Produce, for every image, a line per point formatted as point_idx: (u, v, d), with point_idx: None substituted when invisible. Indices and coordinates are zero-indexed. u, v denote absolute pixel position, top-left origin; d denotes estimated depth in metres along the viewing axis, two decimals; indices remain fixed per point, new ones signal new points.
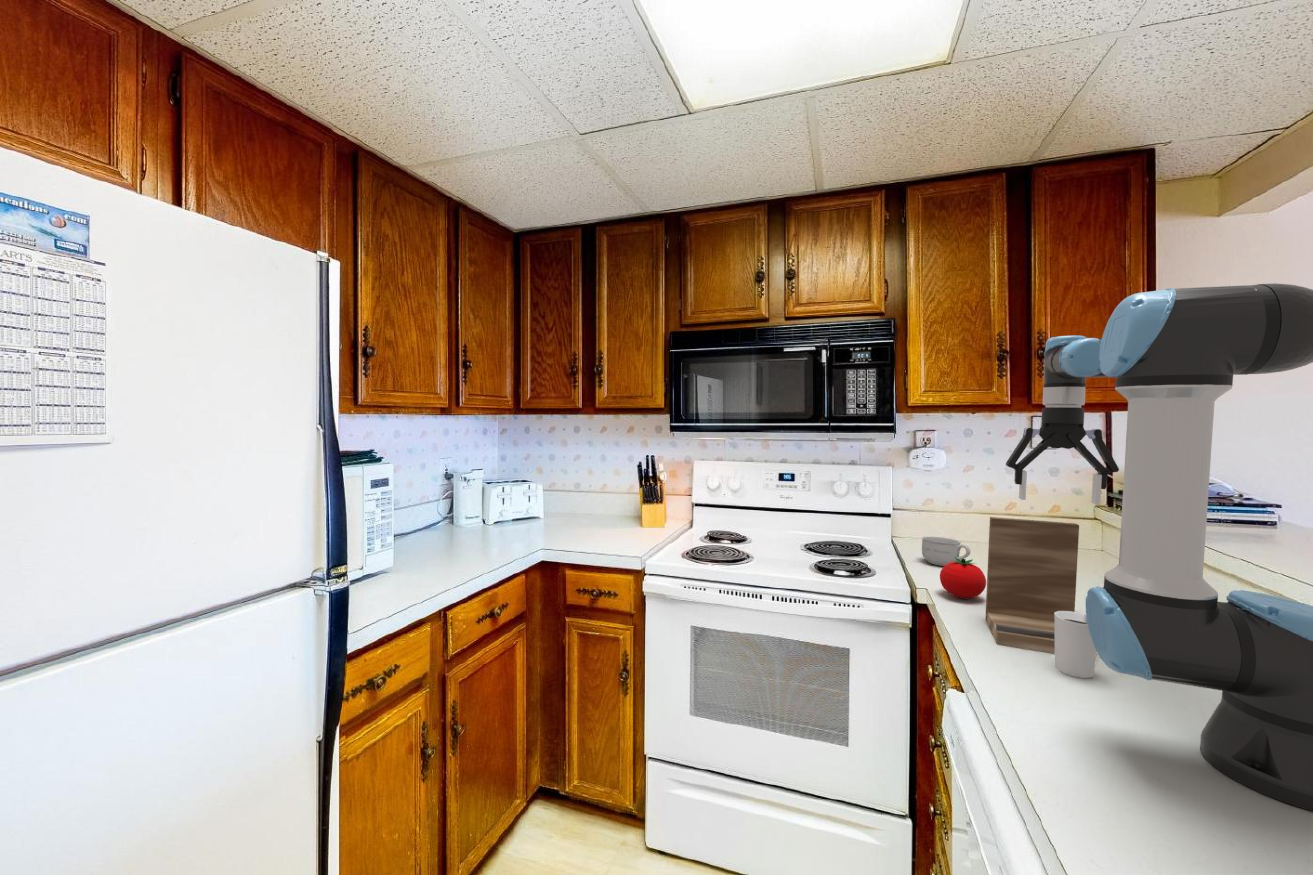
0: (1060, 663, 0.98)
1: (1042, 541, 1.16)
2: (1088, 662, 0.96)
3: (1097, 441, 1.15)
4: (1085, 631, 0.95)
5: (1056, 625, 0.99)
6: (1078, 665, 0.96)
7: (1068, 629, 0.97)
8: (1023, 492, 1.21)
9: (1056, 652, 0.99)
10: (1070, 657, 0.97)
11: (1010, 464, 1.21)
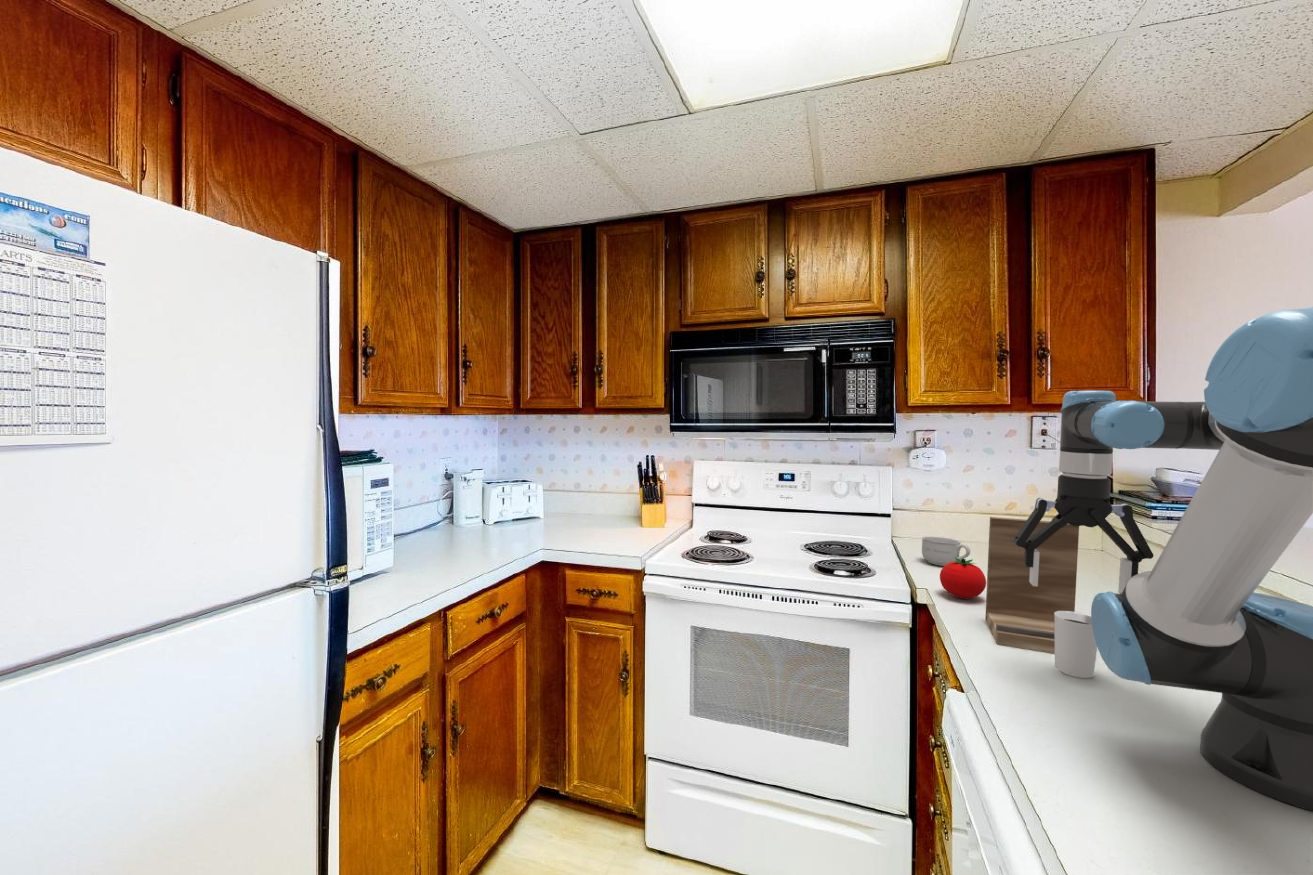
0: (1060, 663, 0.98)
1: None
2: (1088, 662, 0.96)
3: (1126, 520, 0.94)
4: (1085, 631, 0.95)
5: (1056, 625, 0.99)
6: (1078, 665, 0.96)
7: (1068, 629, 0.97)
8: (1035, 577, 0.99)
9: (1056, 652, 0.99)
10: (1070, 657, 0.97)
11: (1019, 542, 1.00)
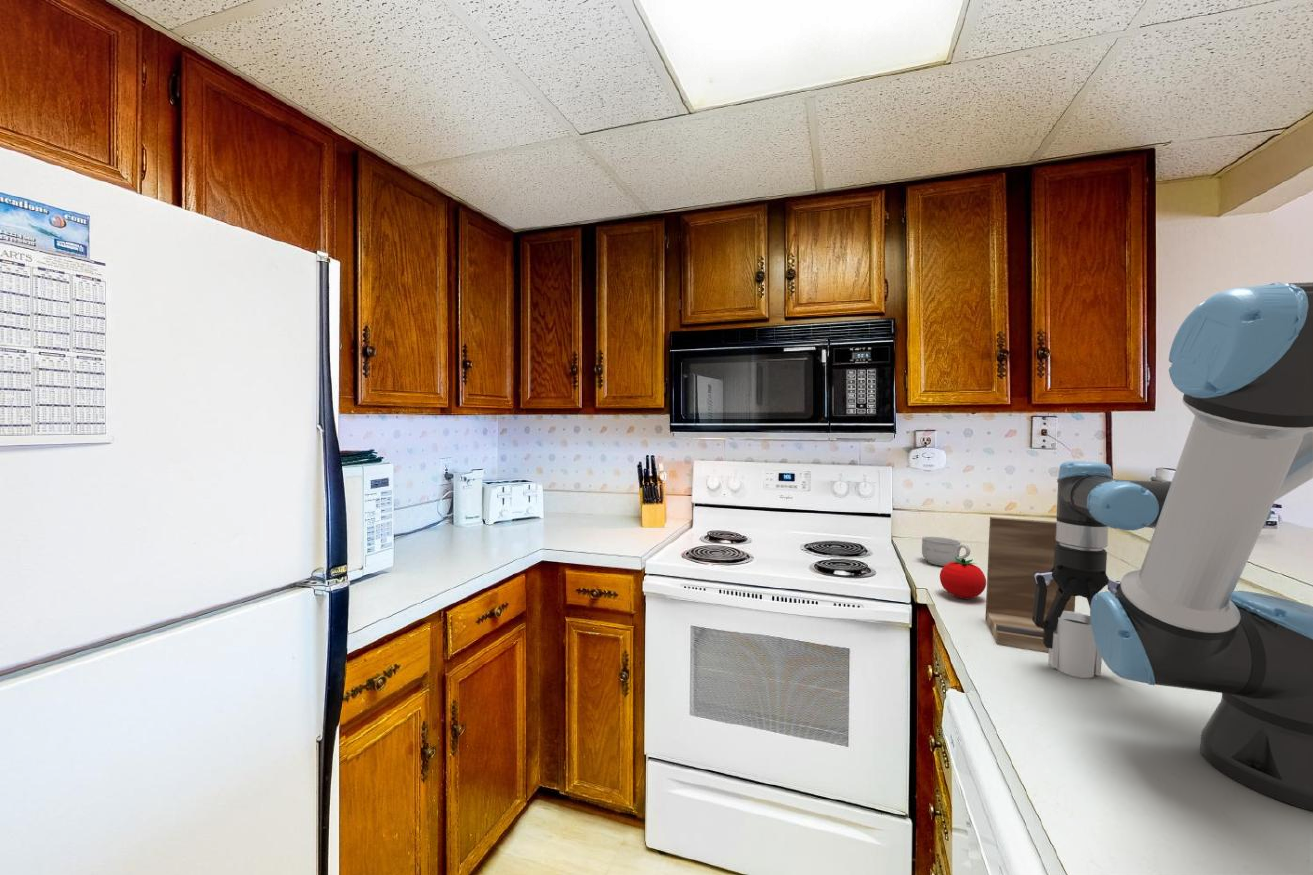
0: (1060, 663, 0.98)
1: (1042, 541, 1.16)
2: (1088, 662, 0.96)
3: None
4: (1085, 631, 0.95)
5: None
6: (1078, 665, 0.96)
7: (1068, 629, 0.97)
8: (1054, 659, 0.99)
9: None
10: (1070, 657, 0.97)
11: (1038, 624, 0.99)
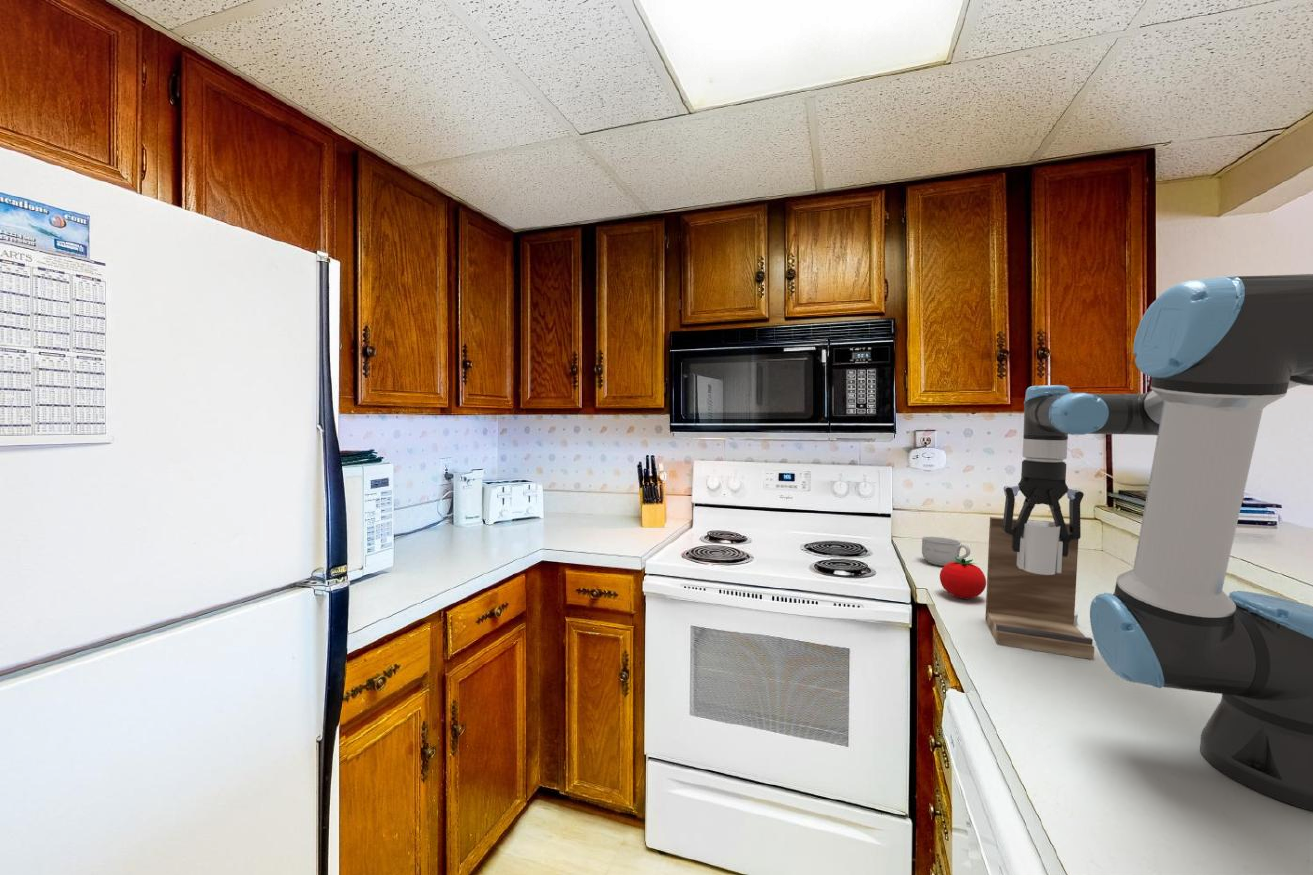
0: (1026, 564, 1.11)
1: None
2: (1050, 561, 1.09)
3: (1074, 503, 1.08)
4: (1047, 532, 1.08)
5: (1023, 531, 1.12)
6: (1041, 563, 1.09)
7: (1032, 533, 1.10)
8: (1021, 561, 1.12)
9: None
10: (1034, 557, 1.10)
11: (1007, 530, 1.13)
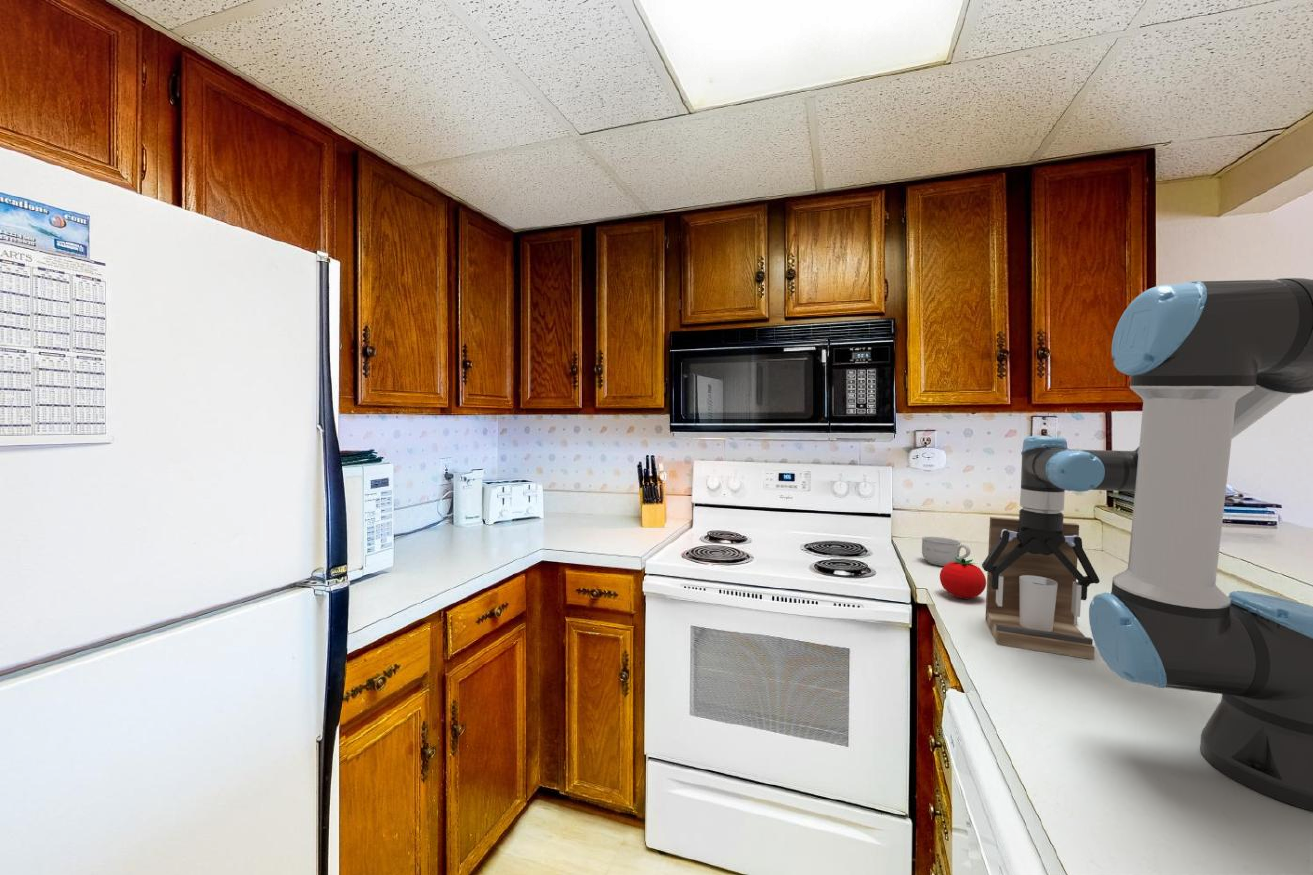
0: (1024, 620, 1.12)
1: None
2: (1047, 618, 1.09)
3: (1077, 549, 1.08)
4: (1045, 590, 1.09)
5: (1020, 587, 1.13)
6: (1038, 620, 1.10)
7: (1030, 590, 1.11)
8: (999, 598, 1.14)
9: (1020, 611, 1.13)
10: (1032, 614, 1.10)
11: (986, 568, 1.15)
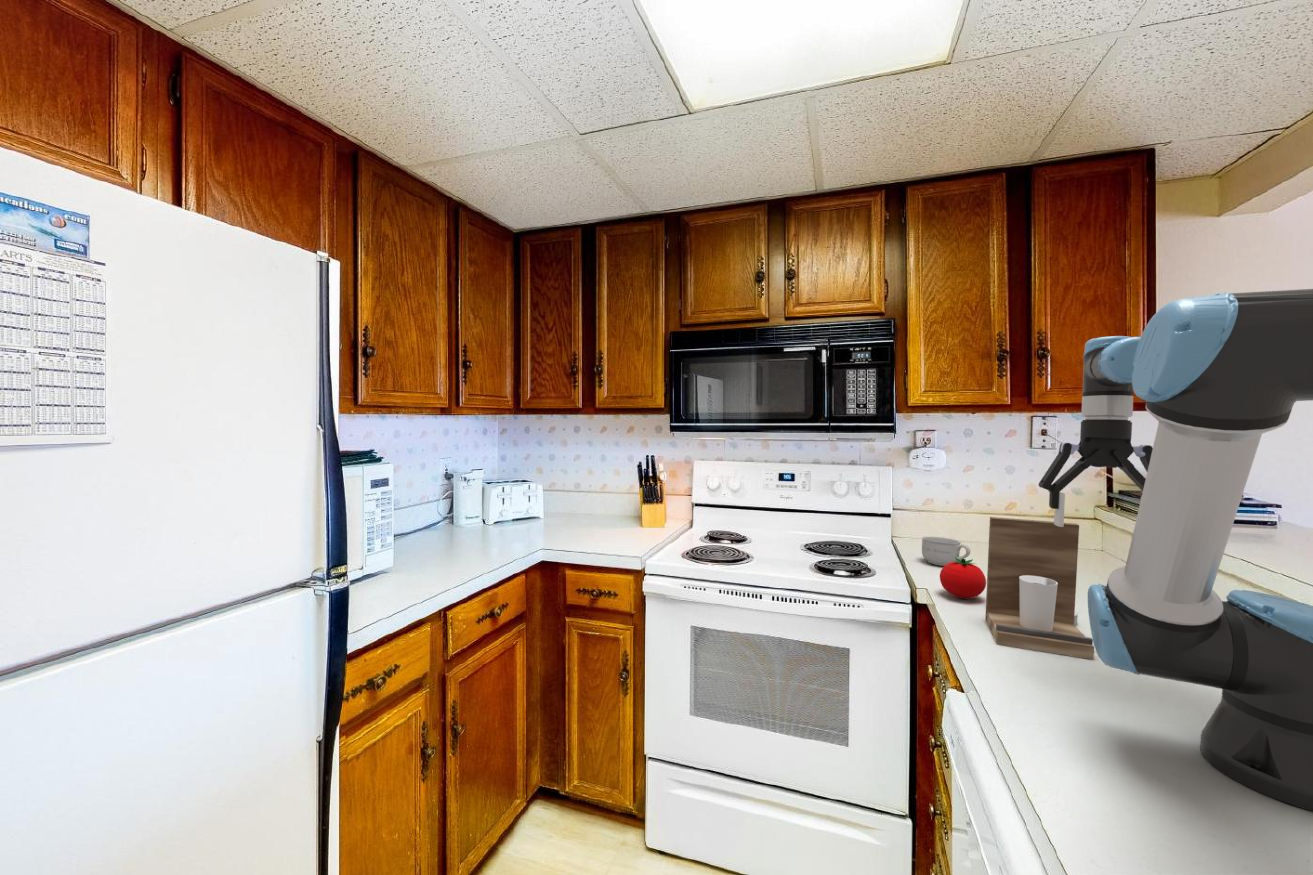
0: (1024, 620, 1.12)
1: (1042, 541, 1.16)
2: (1047, 618, 1.09)
3: (1147, 459, 0.99)
4: (1045, 590, 1.09)
5: (1020, 587, 1.13)
6: (1038, 620, 1.10)
7: (1030, 590, 1.11)
8: (1061, 518, 1.03)
9: (1020, 611, 1.13)
10: (1032, 614, 1.10)
11: (1045, 485, 1.04)
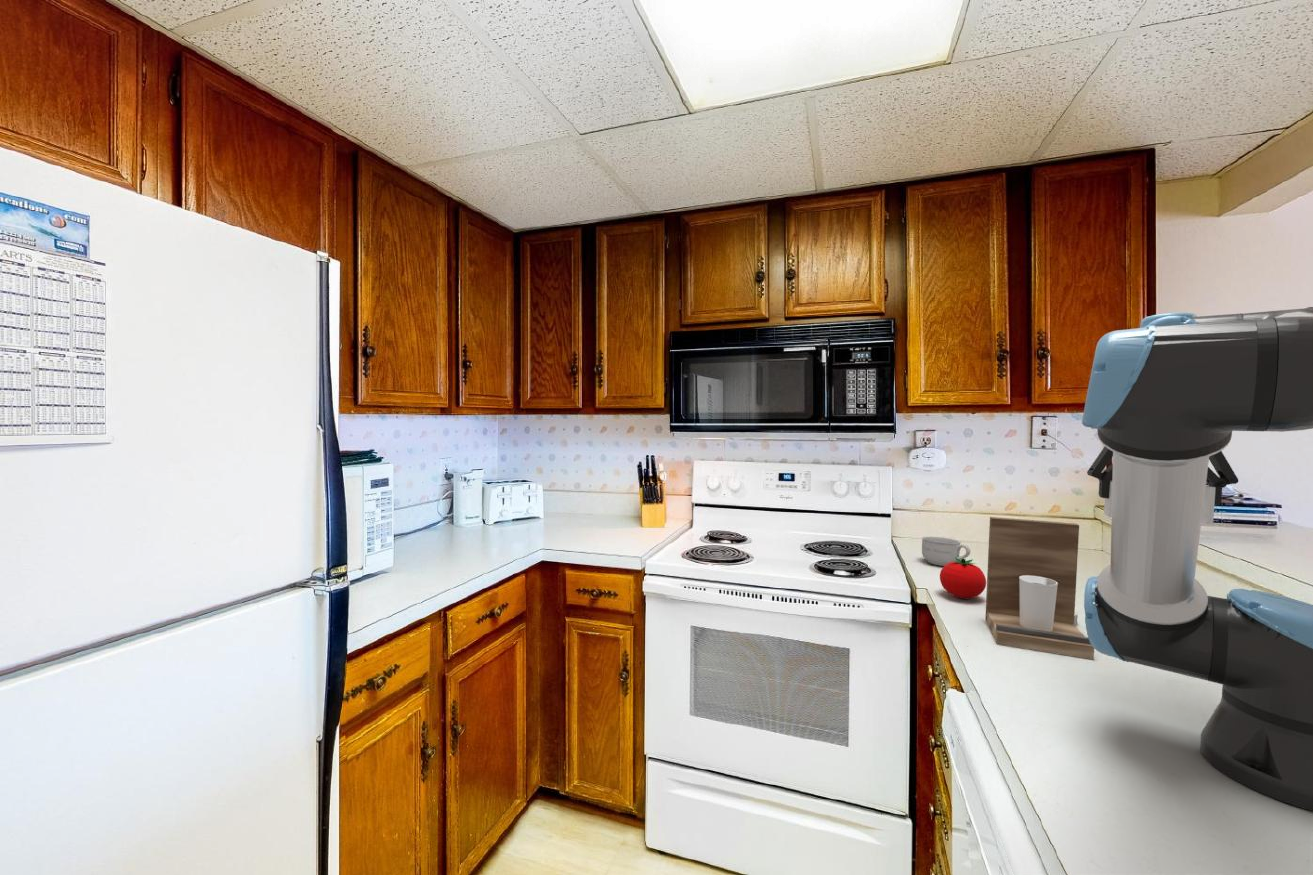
0: (1024, 620, 1.12)
1: (1042, 541, 1.16)
2: (1047, 618, 1.09)
3: None
4: (1045, 590, 1.09)
5: (1020, 587, 1.13)
6: (1038, 620, 1.10)
7: (1030, 590, 1.11)
8: (1111, 508, 0.97)
9: (1020, 611, 1.13)
10: (1032, 614, 1.10)
11: (1095, 473, 0.98)
